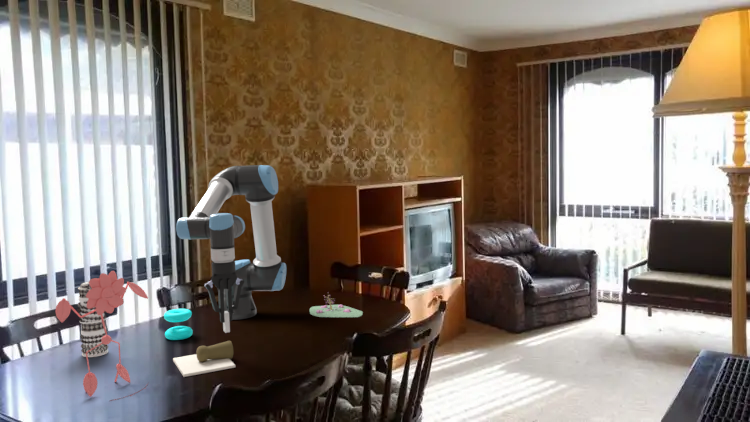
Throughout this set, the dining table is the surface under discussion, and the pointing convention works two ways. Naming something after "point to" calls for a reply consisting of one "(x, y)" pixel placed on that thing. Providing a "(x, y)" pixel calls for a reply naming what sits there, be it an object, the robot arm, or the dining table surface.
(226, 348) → the cork
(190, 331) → the donuts
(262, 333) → the dining table surface
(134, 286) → the figurine
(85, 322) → the decorative candle
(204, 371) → the felt mat
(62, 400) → the dining table surface
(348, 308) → the plant
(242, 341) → the dining table surface
